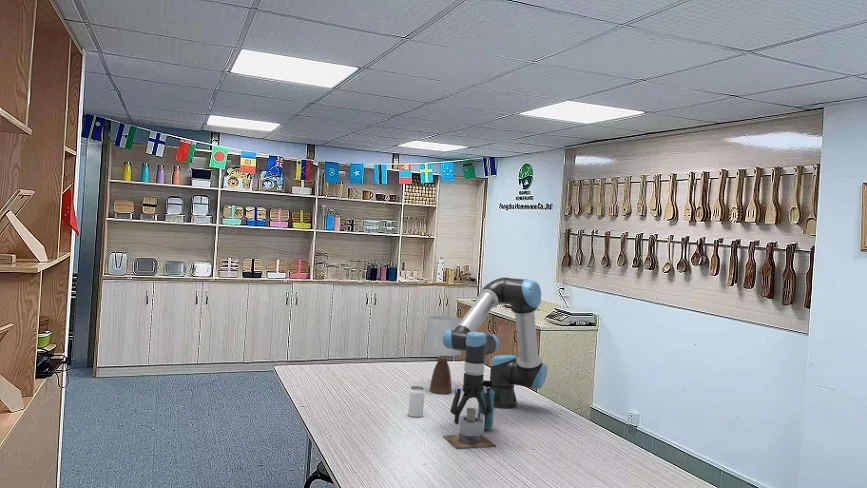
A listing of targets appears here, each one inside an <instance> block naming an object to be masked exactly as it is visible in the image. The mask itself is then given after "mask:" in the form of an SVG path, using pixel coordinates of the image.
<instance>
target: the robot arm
mask: <svg viewBox="0 0 867 488" xmlns="http://www.w3.org/2000/svg"><path fill="white" fill-rule="evenodd" d="M541 302H542V289H541V287H540V284H539V283H538V282H537V281H535V280H531V279H527V278H525V279H524V278H523V279H522V278H514V277H500V278H496V279H494V280H492V281H490V282H489V283H487V284H486V285H485V286H483V288H481V290H480V291H479V293H478V296H477V299H475V301H474V303H473V304H472V305H471V307H470V308H469V310H468V311H467V312H466V314H464V316H463V318H461V319H462V320H461V322H460V323H459V324H458V326H457V327H456V328H455V329H454V330H446V331H445V333H444V335H443V345H444V346H445V347H446V348H450V349H453V350H461V351H462V352H465V356H464V367H463V368H464V369H463V371H464V373H463V380H462V381H463V384H462V386H461V387H458V386H456V387H455V388H454V396H453V400H452V403H451V407H450V409H449V410H450V413H451V414H452V415H454V420H453V421H454V424H455V432H456V433H457V434H459V433H460V431H461V417H462V415H461V413H462V411H463V410H464V408H465V406H466V404H467V402H468V401H469V399H473V398H474V399H476V401H477V402H478V403H479V405H478V406H480V408H481V411H482V413H483V414H482V413H481V414H480V418H481V419H482V420H483V433H485V428H484V423H486V421H487V415H488V414H489V413H492V408H491V401H490V389H492V390H493V391H494V392H495V394H494V407H493V408H499V409H513V408H516V407H517V405H518V403H517V401H518V400H517V397H516V393H515V386H520V387H525V388H531V389H537V390H539V389H542V387H543V386H544V384H545V382H546V379H547V374H548V365H547V364H546V363H543V359H542V357H541V356H540V355H539V351H538V350H539V349H538V339H537V327H536V326H537V325H536V316H535V312H536V310H538V307H539V306H540V305H541ZM500 304H505V305H510V310H511V312H513V313H514V318H515V325H516V326H515V328H516V337H517V338H516V339H517V346H518V357H517V356H516V355H513V354H500V355H495V356H492V358H491V362H490V373H489V381H492V385H493V386H492V387H484V386H483V381H484V372H485V359H486V358H485V357H486V356H487V355H491V354H492V355H493V353H495V352H497V351H498V350H499V348H500V340H499V338H498V336H496V335H495V334H493V333H491V334H490V333H487V334H486V333H485V332H481V331H478V329H479V327H480V326H481V325H482V323H483V322H484V321H485V319H486V318H487V316H488V315H489V314H490V313H491V311H492V309H494V308H496V307H498V305H500ZM482 391H483V392H484V397H485V404H486V408H485V405H484V403H483V400H482V397H481V392H482ZM462 393H463V394H462ZM461 395H462V397H461Z"/></svg>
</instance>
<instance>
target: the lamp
mask: <svg viewBox="0 0 867 488" xmlns="http://www.w3.org/2000/svg"><path fill="white" fill-rule="evenodd" d="M462 319H463V318H461V317H457V316H449V315H430V316H428V323H427V329H426V338H425V345H424V353H426V354H429V355H433V356H437V358H436V361H437V362H436V364H435V365H434V366H435V367H434V368H433V372H432V376H431V379H430V383H429V385H430V386H429V392H431V393H433V394H436V395H437V394H439V395H449V394H451V393H452V390H453V389H452V388H453V387H452V376H451V369H450V365H449V363H448V361H449V358H448V357H458V356H462V353H463V351H461V350H453V349H450V348H446V347H445V346H444V345H443V335H444V333H445V331H446V330H454V329H455V328H456V327H457V326H458V324H459V323H460V322H461V320H462ZM438 356H439V357H438Z"/></svg>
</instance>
